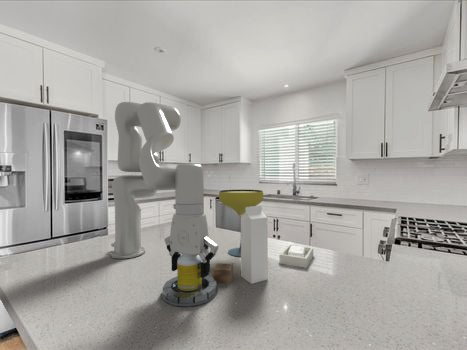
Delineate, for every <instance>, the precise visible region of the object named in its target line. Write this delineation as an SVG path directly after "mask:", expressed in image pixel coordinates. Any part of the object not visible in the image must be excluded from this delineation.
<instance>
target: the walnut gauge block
mask: <svg viewBox="0 0 467 350" xmlns="http://www.w3.org/2000/svg"><path fill="white" fill-rule="evenodd" d="M233 266H234V265H233V263H222V262H221V263H217V262H216V265H215V266H214V268H213V278H214V279H215V280H216V284H231V283H232V280H233V276H234V273H233V272H234V267H233Z"/></svg>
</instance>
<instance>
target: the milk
mask: <svg viewBox="0 0 467 350" xmlns="http://www.w3.org/2000/svg"><path fill="white" fill-rule="evenodd" d="M262 209H263V207H262V205H256V206H253V207H246V212H245V213H244V214H243V215H242V216H240V240H241V257H240V277H241V278H243V279H244V280H246V281H247V282H248V283H249V284H251V285H253V284H257V283H260V282H264V281H267V280H268V279H269V267H268V265H269V260H268V259H269V258H268V257H269V253H268V252H269V251H268V249H269V248H268V245H269V244H268V243H269V242H268V237H269V236H268V233H269V232H268V227H269V226H268V216H267V215H266V214H265V212H264V211H263V210H262Z"/></svg>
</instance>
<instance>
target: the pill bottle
mask: <svg viewBox="0 0 467 350" xmlns="http://www.w3.org/2000/svg"><path fill="white" fill-rule="evenodd" d="M180 254H181V256H180V257H179V258H178V260H177V270H176V271H177V276H178V291H179V293H181V294H193V293H196V292H199V291H200V290H201V287H202V278H201V270H200V264H201V262H202V260H201V258H200V257H199V255H189V254H184V253H180Z"/></svg>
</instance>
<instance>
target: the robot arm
mask: <svg viewBox="0 0 467 350" xmlns="http://www.w3.org/2000/svg"><path fill="white" fill-rule="evenodd" d="M181 119H182V118H181V114H180V112H179V110H178V109H177V108H176V107H174V106H171V105H167V104H162V103H156V102H151V101H147V102H143V103H138V102H134V101H133V102H131V101H121V102H119V103H118V104H117V105H116V107H115V111H114V122H115V126H116V130H117V133H118V134H117V135H118V140H117V141H118V145H117V166H118V167H117V168H118V169H119V170H120V171H121V172H125V173H141V175H140V174H139V175H138V174H125V175H119V176H117V177H115V178H114V179H113V180H112V183H111V189H112V196H113V200H114V201H113V202H114V240H115V241H114V242H112V243H111V244H110V245H111V247H112V248H114V250H112V251H111V253H110V257H111V258H113V259H117V260H118V259H119V260H121V259H122V260H123V259H131V258H135V257H138V256H142V255H143V254H144V253H145V252H146V248H145V247H143V246H142V218H141V217H142V216H141V215H142V214H141V212H142V210H141V207H140V205H139V204H138V203H137V202H136V200H135V199H145V198H151V197H154V196H156V195H157V193H158V191H171V190H172V191H173V190H174V193H175V194H174V195H175V196H174V197H175V199H174V201H175V204H173V209H174V210H175V213H174V214H173V215H172V218H171V224H170V234H169V236H167V237H165V238H164V239H163V240H164V243H165V246H166V250H168V253H169V255H168V256H170V257H171V271H172V272H176V271H177V260H178V258H179V257H180V256H182V254H181V253H184V254H189V255H199V257H200V258H201V264H200V270H201V278H204V277H206V276H207V275H208V276H210V271H211V260H212V259H213V258H214V257H215V256H216V253H218V252H217V251H218V249H219V245H218V244H217V243H215V242H214V241H213V240H212V239H210V238H209V237H210V235H209V227H208V226H209V225H208V222H207V221H208V220H207V215H206V214H204V213H205V211H204V210H205V209H204V208H205V207H204V206H205V204H204V198H205V197H204V193H205V192H204V191H205V189H204V187H205V186H204V184H205V183H204V181H205V180H204V167H203V166H202V165H201V164H198V163H181V164H179V163H160V157H159V155H158V153H159V152H161V151H164V150H167V149H168V148H170V146H172V145H173V142H174V140H175V137H174V134H173V131H176V130H178V129H179V128H180V126H181ZM137 127H138V128H141V130H142V132H143V135H141V134H142V133H140V131H139V129H138V128H137ZM143 136H144V138H145V141H146V142H145V143H144V145H143ZM209 249H210V251H209Z"/></svg>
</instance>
